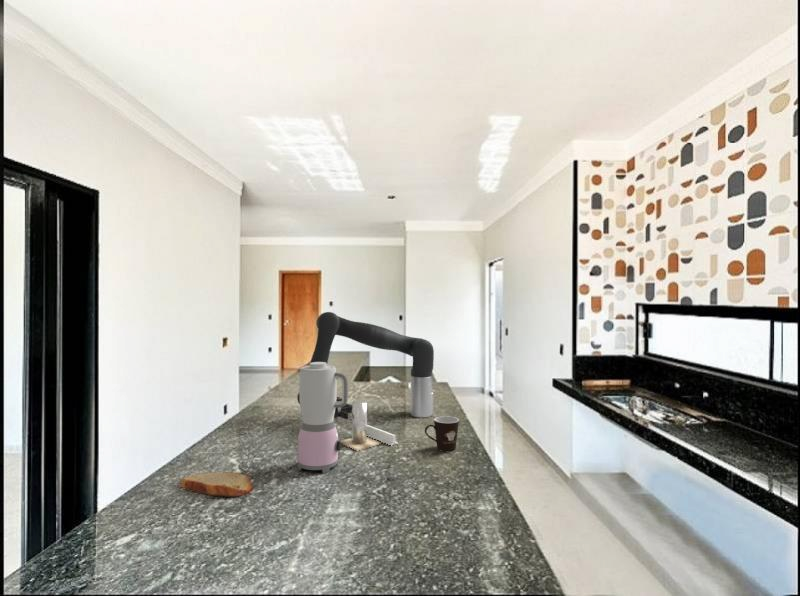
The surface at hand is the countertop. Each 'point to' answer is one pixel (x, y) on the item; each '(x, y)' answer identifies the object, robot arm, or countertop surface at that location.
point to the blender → (319, 416)
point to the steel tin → (359, 422)
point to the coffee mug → (445, 432)
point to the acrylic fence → (381, 435)
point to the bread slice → (218, 484)
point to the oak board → (359, 446)
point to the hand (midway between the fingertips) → (357, 414)
